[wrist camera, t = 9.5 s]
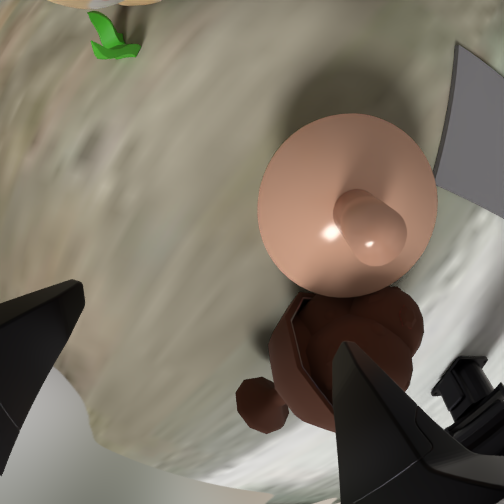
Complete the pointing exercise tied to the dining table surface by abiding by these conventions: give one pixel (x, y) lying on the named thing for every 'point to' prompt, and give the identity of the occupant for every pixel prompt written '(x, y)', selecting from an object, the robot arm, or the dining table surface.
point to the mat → (473, 134)
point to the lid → (347, 205)
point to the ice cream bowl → (329, 354)
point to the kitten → (107, 27)
